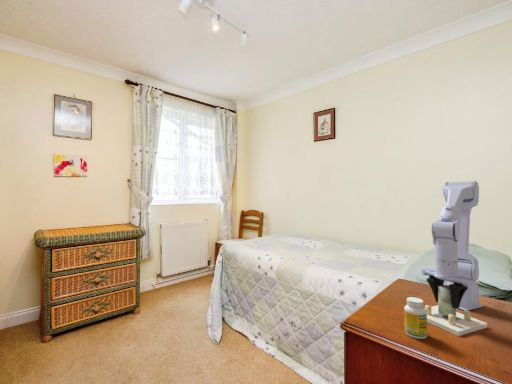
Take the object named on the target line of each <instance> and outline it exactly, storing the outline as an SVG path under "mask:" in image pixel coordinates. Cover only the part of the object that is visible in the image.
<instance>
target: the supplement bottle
mask: <svg viewBox="0 0 512 384" xmlns="http://www.w3.org/2000/svg"><path fill="white" fill-rule="evenodd" d="M403 307H404V308H403V310H404V312H403V313H404V316H403V317H404V318H403V319H404V332H405V334H406V335H407V336H409V337H410V338H413V339H416V340H417V339H419V340H424V339H426V338H427V337H428V322H427V312H426V310H425V305H424V300H423V299H422V298H418V297H415V296H410V297H407V298H406V305H405V306H403Z"/></svg>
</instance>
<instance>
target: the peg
mask: <svg viewBox="0 0 512 384" xmlns="http://www.w3.org/2000/svg"><path fill="white" fill-rule="evenodd" d="M437 303H438V304H437V305H438V312H439V313H440V314H442V315H445V316H448V314H453V315H455V316H456V312H457V308H456V309H455V308H452V296H451V291H450V288H449V286H448V285H447V284H443V285H438V302H437Z"/></svg>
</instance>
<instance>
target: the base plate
mask: <svg viewBox="0 0 512 384" xmlns="http://www.w3.org/2000/svg"><path fill="white" fill-rule="evenodd" d="M424 308H425V310H426V312H427V324H428V323H429V324H430V325H433V326H434V327H435V326H436V327H437V328H439V329H442V330H444V331H446V332H448V333H451V334H452V335H455V336H458V337H461V336H464V335H467V334H470V333H473V332H477V331H480V330H484V329H487V328H488V323H487V322H485V321H482V320H480V319H477V318H475V317H472V316H471V315H472V314H471V310H468V311H467V310H463V313H460V312H459V311H456V316H455V315H453V314H448V316H445V315H442V314H440V313H439V312H438V304H437V305H433V306H432V305H429V304H425V305H424Z"/></svg>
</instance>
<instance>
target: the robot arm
mask: <svg viewBox="0 0 512 384" xmlns="http://www.w3.org/2000/svg"><path fill="white" fill-rule="evenodd" d="M442 195H443V197H444V200H445V202H446V204H445V206H442V207H441V209H440V212H439V215H438V217H437V220H436V221H435V222H432V224H431V236H432V245H434V269H430V268H422V269H421V275H422V276H426V277H427V276H428V278H426V282H427V283H428V285H429V287H430V288H431V292H432V293H433V296H434V301H435V302H436V303H438V285H445V284H444V283H445V282H447V283H446V285H448V286H449V288H450V291H451V296H452V308H455V309H456V310H457V309H459V310H463V311H464V310H467V311H471V310H475V309H479V308H482V307H483V305H482V304H481V303H480V302H481V301H480V286H479V283H477V281H478V280H479V276H480V268H479V260H478V258H477V257H475V256H474V255H473V254H471V253H470V252H469V245H470V228H471V227H470V225H471V222H470V220H471V212H472V208H474V207H477V206H478V205H479V204H478V203H479V202H480V201H479V199H480V186H479V182H478V181H477V180H473V181H471V180H470V181H468V180H467V181H451V182H450V181H445V182H444V183H443V185H442Z"/></svg>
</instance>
